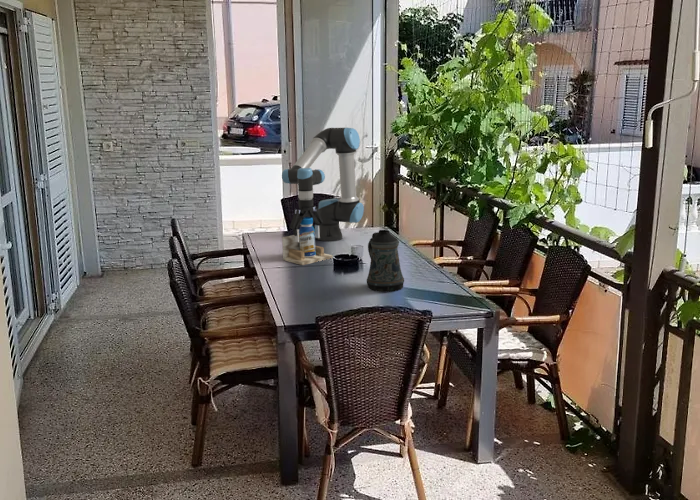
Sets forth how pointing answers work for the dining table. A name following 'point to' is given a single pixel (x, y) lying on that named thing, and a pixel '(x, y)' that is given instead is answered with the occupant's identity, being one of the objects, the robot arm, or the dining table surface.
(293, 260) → the wooden display stand
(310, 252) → the beverage bottle
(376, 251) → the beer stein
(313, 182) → the robot arm
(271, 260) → the dining table surface
